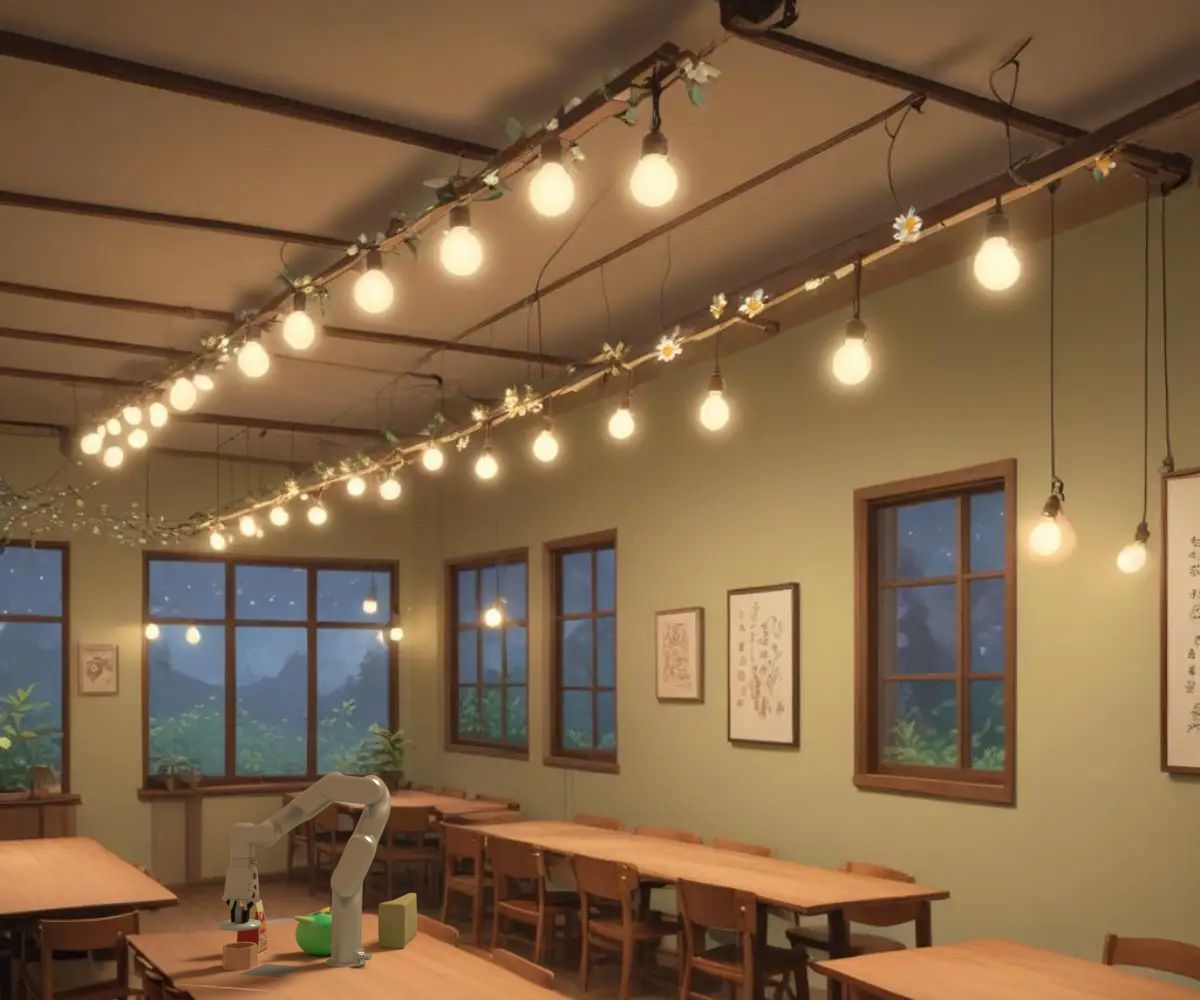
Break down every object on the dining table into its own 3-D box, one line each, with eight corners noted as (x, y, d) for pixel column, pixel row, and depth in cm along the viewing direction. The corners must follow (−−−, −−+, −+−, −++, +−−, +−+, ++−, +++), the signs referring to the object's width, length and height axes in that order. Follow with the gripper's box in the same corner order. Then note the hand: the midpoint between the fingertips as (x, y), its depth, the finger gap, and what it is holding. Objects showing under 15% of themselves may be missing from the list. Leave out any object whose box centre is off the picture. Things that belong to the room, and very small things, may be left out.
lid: (268, 924, 422) (269, 904, 423) (246, 932, 410) (247, 911, 410) (233, 921, 426) (233, 901, 427) (210, 929, 413) (210, 909, 414)
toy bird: (356, 949, 442) (356, 904, 444) (341, 961, 425) (342, 914, 427) (303, 949, 444) (304, 904, 445) (287, 960, 427) (288, 913, 429)
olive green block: (401, 934, 466) (402, 891, 468) (427, 936, 464) (428, 892, 465) (376, 948, 445) (377, 902, 446) (403, 949, 442) (404, 903, 444)
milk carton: (268, 951, 441) (269, 889, 443) (258, 957, 432) (260, 894, 434) (242, 950, 442) (243, 889, 444) (231, 956, 433) (233, 894, 435)
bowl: (262, 965, 420) (262, 943, 420) (244, 972, 410) (245, 949, 411) (234, 963, 423) (235, 941, 423) (216, 970, 413) (217, 947, 414)
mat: (303, 968, 415) (303, 966, 415) (280, 978, 402) (280, 976, 402) (264, 965, 419) (264, 963, 419) (240, 975, 406) (240, 973, 406)
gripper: (271, 862, 421) (268, 921, 419) (226, 859, 426) (223, 918, 424) (258, 865, 414) (256, 925, 412) (213, 863, 419) (210, 922, 417)
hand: (239, 921), depth 418 cm, fingers closed on lid, 3 cm apart
